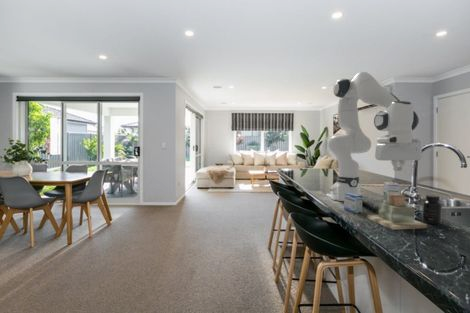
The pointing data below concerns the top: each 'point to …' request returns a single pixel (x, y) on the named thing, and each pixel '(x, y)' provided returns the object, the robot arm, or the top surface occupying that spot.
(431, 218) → the supplement bottle
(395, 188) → the syrup box
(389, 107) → the robot arm
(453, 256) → the top surface
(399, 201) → the peg
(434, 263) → the top surface
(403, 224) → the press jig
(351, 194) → the medicine box
